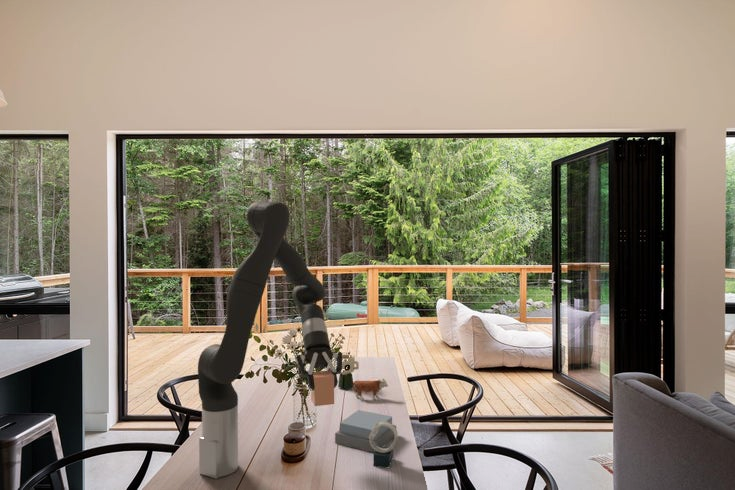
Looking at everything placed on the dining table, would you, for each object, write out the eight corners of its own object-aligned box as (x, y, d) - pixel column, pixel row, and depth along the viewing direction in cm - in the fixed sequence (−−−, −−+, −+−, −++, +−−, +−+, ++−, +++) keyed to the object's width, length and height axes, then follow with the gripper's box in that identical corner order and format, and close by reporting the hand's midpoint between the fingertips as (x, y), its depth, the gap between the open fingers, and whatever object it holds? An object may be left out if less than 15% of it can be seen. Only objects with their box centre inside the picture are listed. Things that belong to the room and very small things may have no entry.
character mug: (330, 389, 193) (330, 357, 193) (336, 383, 200) (336, 353, 200) (355, 391, 190) (355, 359, 190) (360, 386, 197) (361, 355, 197)
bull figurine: (388, 401, 180) (388, 379, 179) (352, 400, 180) (352, 379, 180) (387, 397, 184) (387, 376, 184) (353, 396, 184) (353, 376, 184)
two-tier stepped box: (376, 453, 137) (376, 432, 137) (335, 443, 144) (335, 423, 144) (396, 434, 150) (396, 415, 149) (357, 426, 156) (357, 408, 156)
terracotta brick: (334, 404, 133) (334, 375, 133) (314, 406, 131) (314, 377, 131) (329, 397, 138) (329, 370, 138) (311, 399, 137) (311, 371, 136)
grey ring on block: (371, 455, 135) (371, 417, 135) (398, 459, 134) (399, 420, 133) (366, 465, 130) (366, 425, 130) (395, 468, 128) (395, 428, 128)
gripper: (293, 331, 139) (300, 384, 128) (340, 328, 143) (351, 379, 132) (290, 344, 144) (297, 396, 133) (336, 341, 149) (346, 391, 138)
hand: (324, 387), depth 133 cm, fingers closed on terracotta brick, 5 cm apart
